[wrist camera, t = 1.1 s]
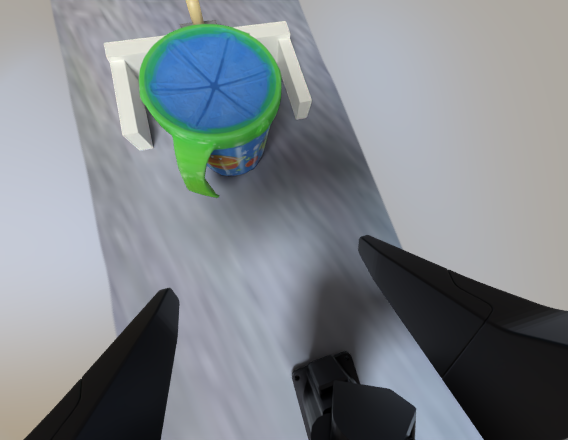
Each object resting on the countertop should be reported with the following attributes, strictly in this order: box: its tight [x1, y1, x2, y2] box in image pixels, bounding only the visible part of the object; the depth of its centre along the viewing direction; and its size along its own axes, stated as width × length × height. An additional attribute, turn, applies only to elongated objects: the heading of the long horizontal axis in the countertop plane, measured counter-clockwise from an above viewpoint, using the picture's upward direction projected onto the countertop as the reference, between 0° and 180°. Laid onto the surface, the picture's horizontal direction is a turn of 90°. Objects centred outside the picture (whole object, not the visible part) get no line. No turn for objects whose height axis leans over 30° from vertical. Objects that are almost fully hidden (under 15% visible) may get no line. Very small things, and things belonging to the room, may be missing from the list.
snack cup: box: [139, 24, 282, 198], centre depth 20 cm, size 16×10×10 cm
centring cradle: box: [104, 0, 312, 151], centre depth 23 cm, size 11×21×7 cm, turn 106°
